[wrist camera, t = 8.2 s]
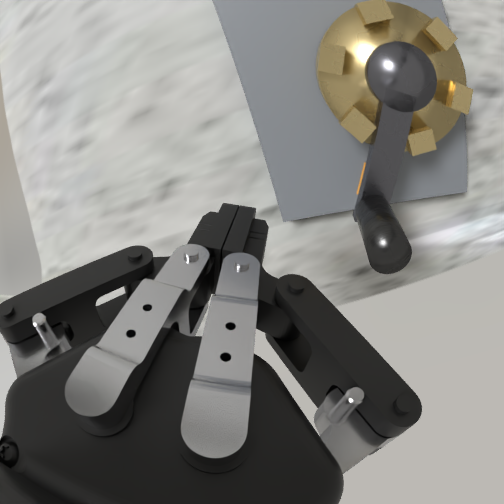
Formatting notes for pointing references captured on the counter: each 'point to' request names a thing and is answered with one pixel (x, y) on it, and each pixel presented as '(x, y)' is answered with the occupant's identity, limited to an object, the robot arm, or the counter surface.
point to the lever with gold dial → (390, 104)
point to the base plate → (319, 110)
